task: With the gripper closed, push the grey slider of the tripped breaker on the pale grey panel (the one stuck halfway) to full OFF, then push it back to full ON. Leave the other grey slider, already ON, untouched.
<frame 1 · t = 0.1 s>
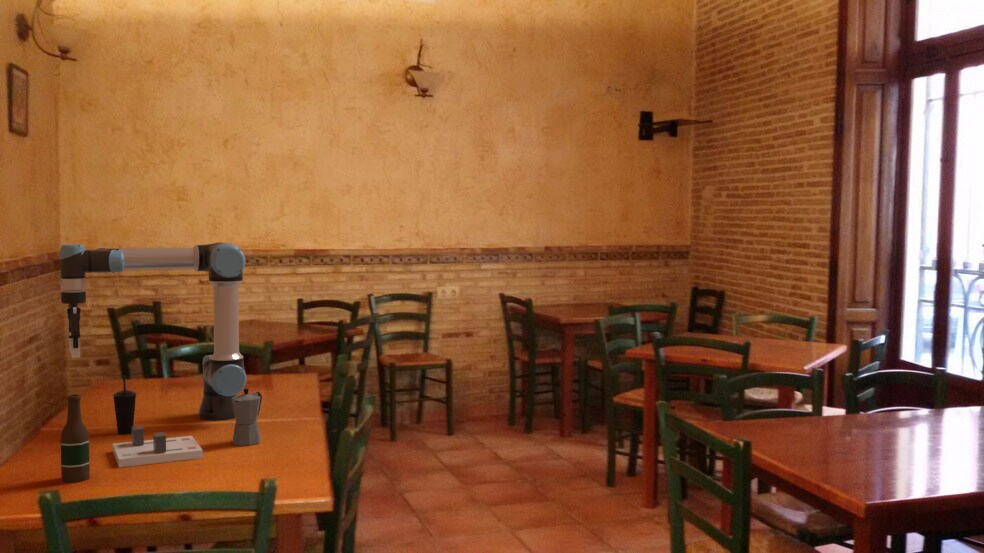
hand: (74, 354, 299), 28 cm above the table, fingers open, 13 cm apart
beer bottle: (75, 479, 255), on the table
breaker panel: (157, 454, 281), on the table
drinking cup: (125, 433, 308), on the table
coffeepot: (248, 442, 298), on the table
tripped lever: (159, 442, 275), point 5 cm above the table, slide at 0.0 cm
on lever: (137, 435, 283), point 5 cm above the table, slide at 5.0 cm
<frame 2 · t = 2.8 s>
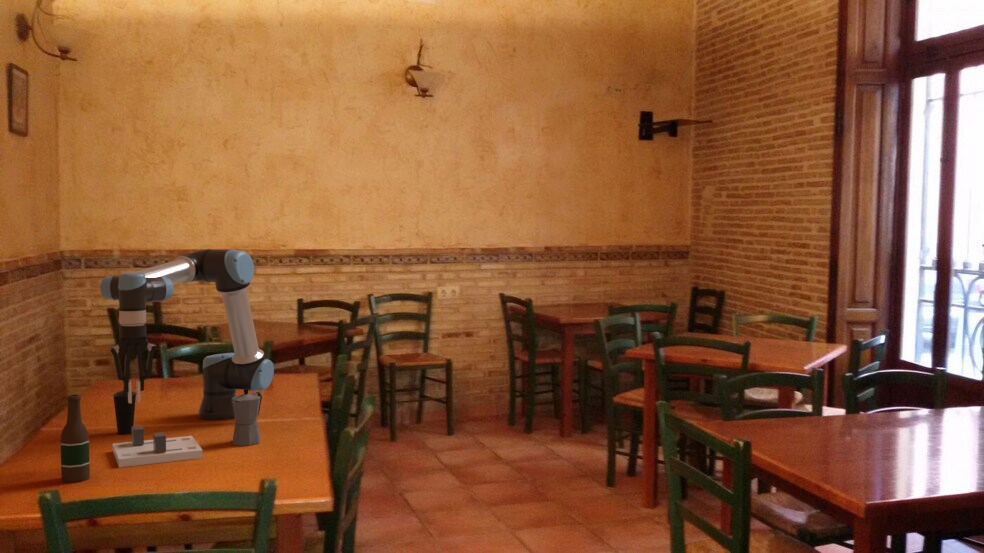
hand: (134, 401, 271), 18 cm above the table, fingers closed
nothing on the table moved.
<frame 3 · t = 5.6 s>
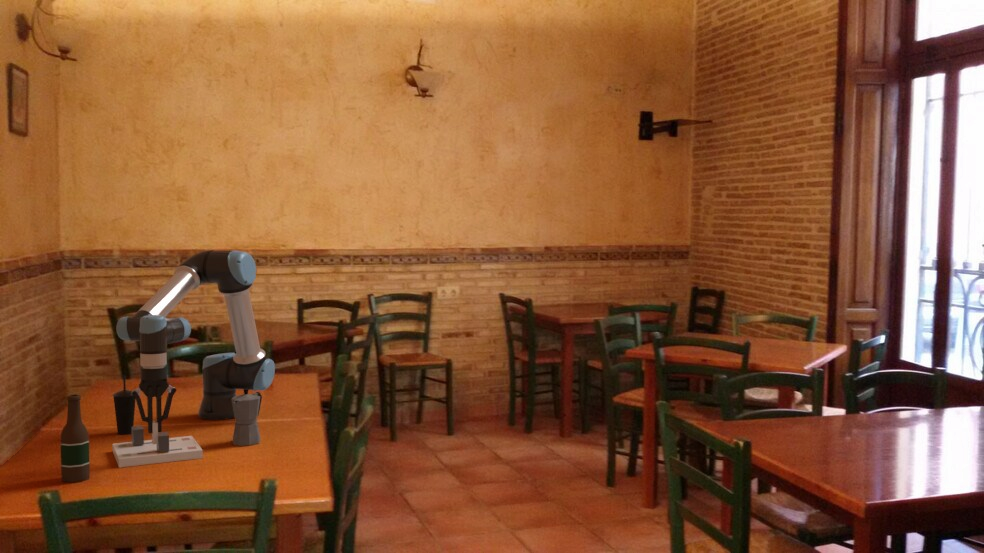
hand: (155, 442, 275), 5 cm above the table, fingers closed
tripped lever: (162, 442, 276), point 5 cm above the table, slide at -0.9 cm, touching gripper
everything else where it was.
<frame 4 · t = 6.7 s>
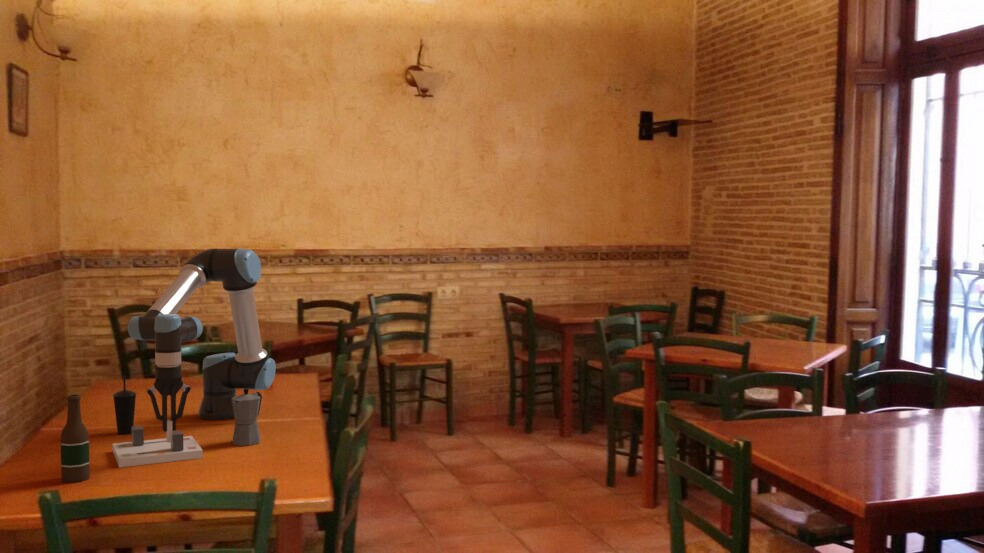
hand: (169, 441, 277), 5 cm above the table, fingers closed
tripped lever: (176, 440, 278), point 5 cm above the table, slide at -5.1 cm, touching gripper
everything else where it was.
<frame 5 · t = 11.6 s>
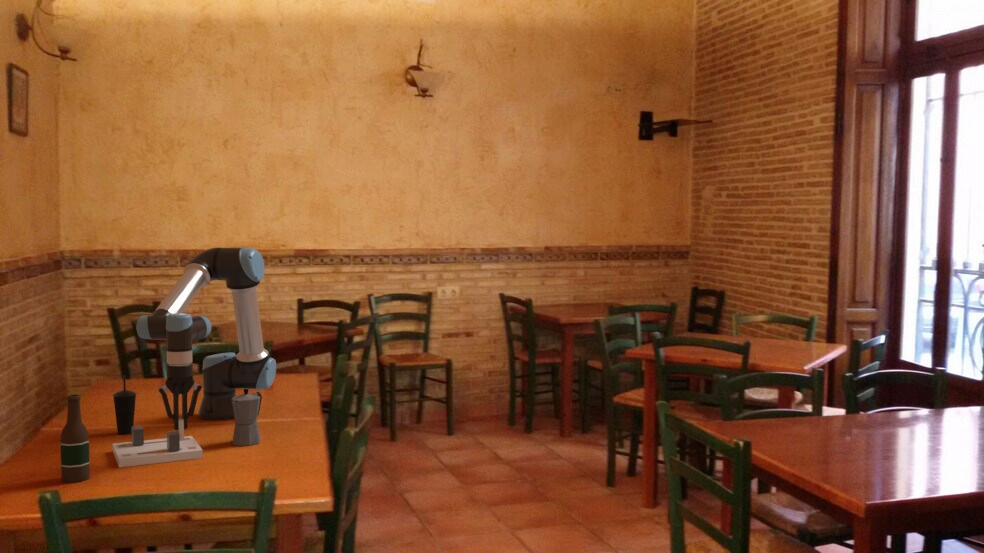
hand: (180, 439, 278), 5 cm above the table, fingers closed
tripped lever: (173, 441, 277), point 5 cm above the table, slide at -3.9 cm, touching gripper
everything else where it was.
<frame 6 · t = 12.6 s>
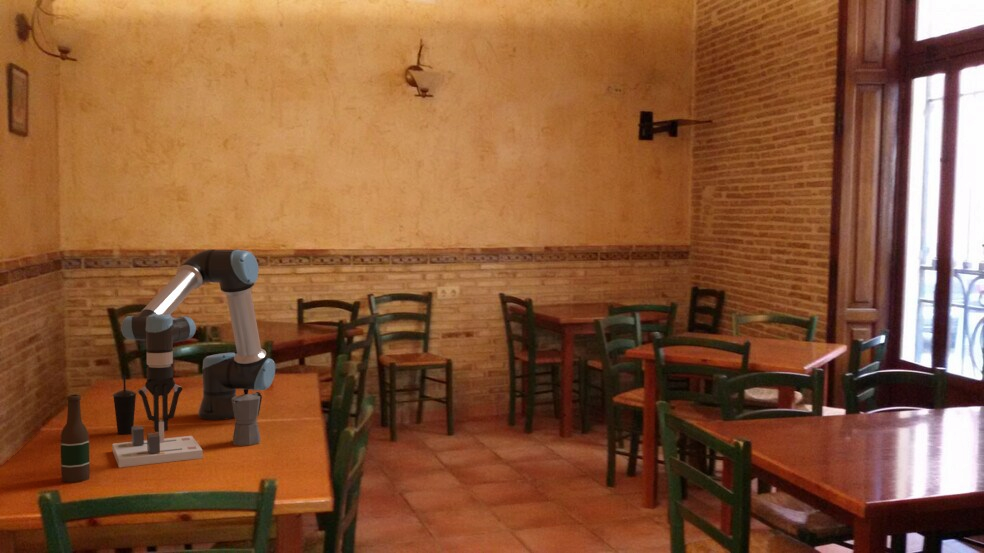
hand: (161, 441, 275), 5 cm above the table, fingers closed
tripped lever: (153, 443, 274), point 5 cm above the table, slide at 1.8 cm, touching gripper
everything else where it was.
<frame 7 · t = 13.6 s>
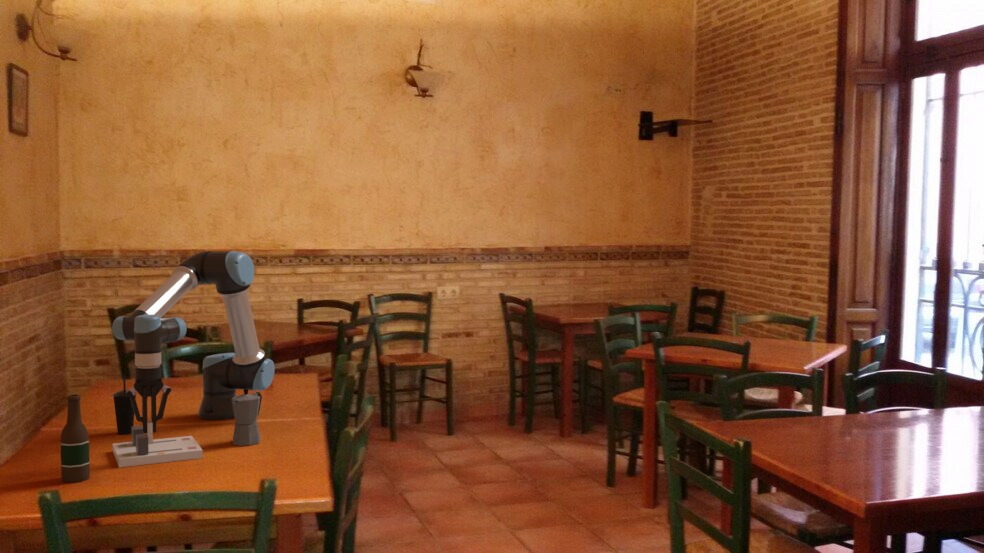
hand: (149, 443, 274), 5 cm above the table, fingers closed
tripped lever: (142, 444, 273), point 5 cm above the table, slide at 5.0 cm, touching gripper
everything else where it was.
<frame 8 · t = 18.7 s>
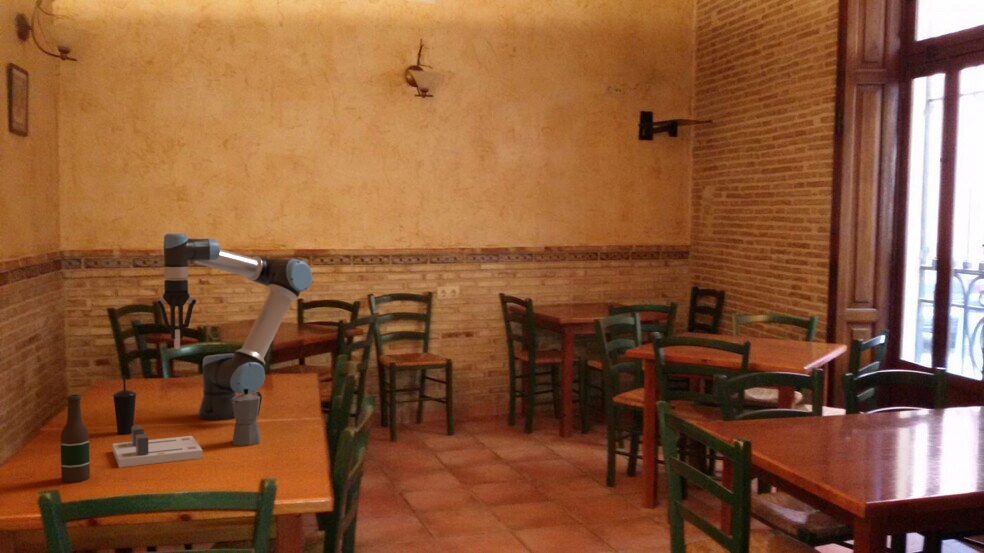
hand: (177, 348, 306), 29 cm above the table, fingers closed
tripped lever: (142, 444, 273), point 5 cm above the table, slide at 5.1 cm
everything else where it was.
at the end: tripped lever slide at 5.1 cm; on lever slide at 5.0 cm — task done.
